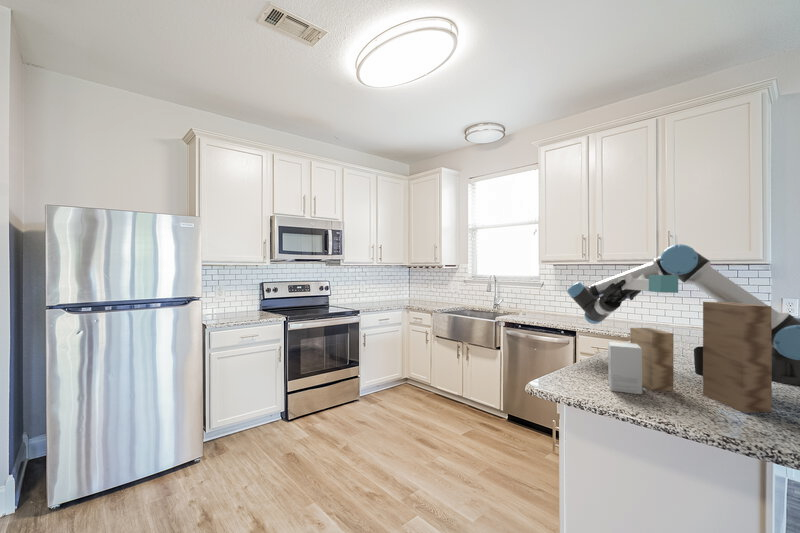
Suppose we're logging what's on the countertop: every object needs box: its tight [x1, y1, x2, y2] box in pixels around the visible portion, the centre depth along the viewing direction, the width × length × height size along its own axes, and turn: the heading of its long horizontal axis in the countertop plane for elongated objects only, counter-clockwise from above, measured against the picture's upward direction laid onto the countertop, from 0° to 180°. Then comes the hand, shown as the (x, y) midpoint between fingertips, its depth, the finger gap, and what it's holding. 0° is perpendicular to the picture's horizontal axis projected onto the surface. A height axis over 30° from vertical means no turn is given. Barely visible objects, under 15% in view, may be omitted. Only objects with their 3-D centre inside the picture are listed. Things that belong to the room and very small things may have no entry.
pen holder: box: [693, 345, 703, 376], centre depth 142 cm, size 9×9×10 cm
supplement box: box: [607, 341, 643, 395], centre depth 123 cm, size 9×9×15 cm
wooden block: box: [629, 327, 674, 392], centre depth 128 cm, size 7×12×19 cm, turn 178°
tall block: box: [702, 301, 773, 413], centre depth 111 cm, size 8×14×30 cm, turn 178°
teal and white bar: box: [618, 275, 679, 294], centre depth 132 cm, size 26×6×6 cm, turn 178°
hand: (637, 277), depth 136 cm, fingers closed on teal and white bar, 4 cm apart
